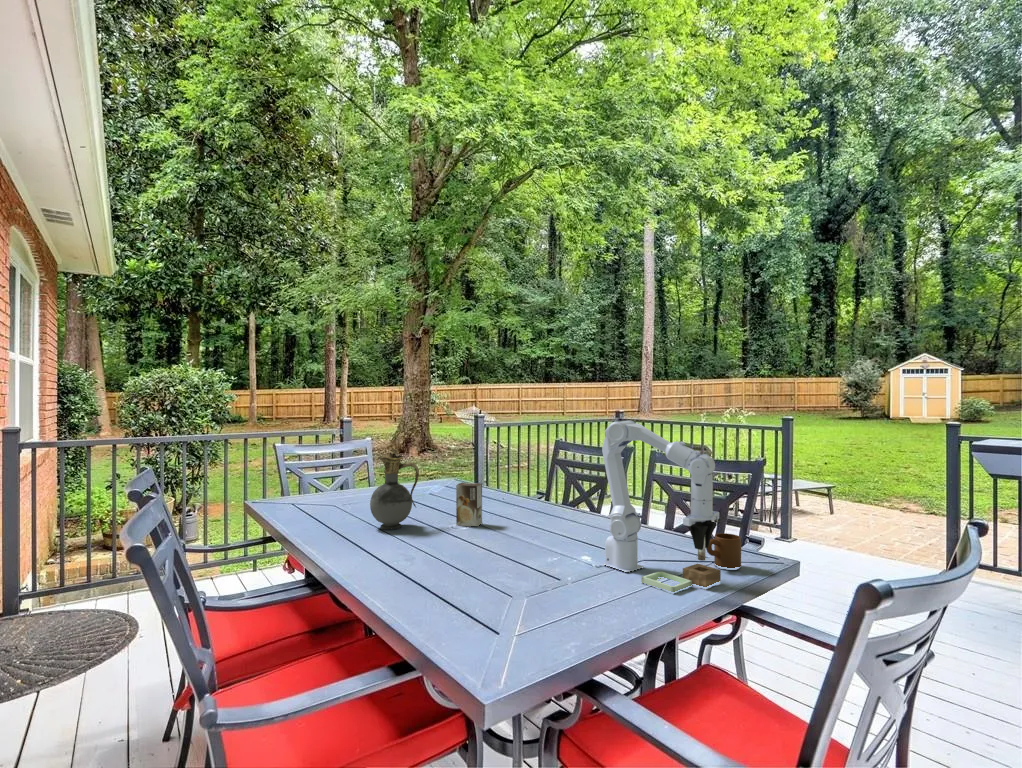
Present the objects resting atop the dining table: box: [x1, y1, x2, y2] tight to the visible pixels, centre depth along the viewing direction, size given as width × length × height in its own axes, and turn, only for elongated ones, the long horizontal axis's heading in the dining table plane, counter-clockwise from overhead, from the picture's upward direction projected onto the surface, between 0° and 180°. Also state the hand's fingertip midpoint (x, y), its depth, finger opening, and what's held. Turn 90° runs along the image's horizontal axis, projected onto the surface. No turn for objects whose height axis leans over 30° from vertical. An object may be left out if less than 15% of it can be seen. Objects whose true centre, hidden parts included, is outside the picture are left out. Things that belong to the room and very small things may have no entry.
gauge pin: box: [697, 537, 706, 561], centre depth 156 cm, size 2×2×8 cm
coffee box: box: [455, 482, 483, 527], centre depth 223 cm, size 9×6×16 cm
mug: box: [705, 532, 742, 568], centre depth 170 cm, size 12×8×9 cm, turn 114°
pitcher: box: [369, 448, 420, 530], centre depth 218 cm, size 11×19×30 cm, turn 121°
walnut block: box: [682, 563, 722, 587], centre depth 156 cm, size 7×7×4 cm
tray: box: [640, 570, 692, 592], centre depth 155 cm, size 10×8×2 cm
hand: (701, 548), depth 156 cm, fingers closed on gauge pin, 2 cm apart
